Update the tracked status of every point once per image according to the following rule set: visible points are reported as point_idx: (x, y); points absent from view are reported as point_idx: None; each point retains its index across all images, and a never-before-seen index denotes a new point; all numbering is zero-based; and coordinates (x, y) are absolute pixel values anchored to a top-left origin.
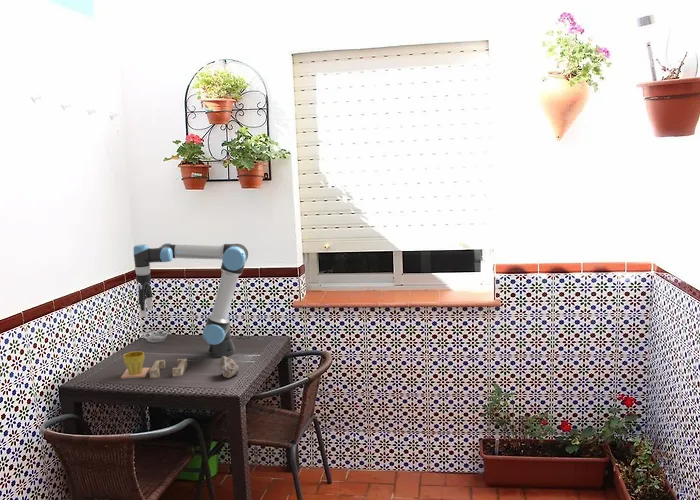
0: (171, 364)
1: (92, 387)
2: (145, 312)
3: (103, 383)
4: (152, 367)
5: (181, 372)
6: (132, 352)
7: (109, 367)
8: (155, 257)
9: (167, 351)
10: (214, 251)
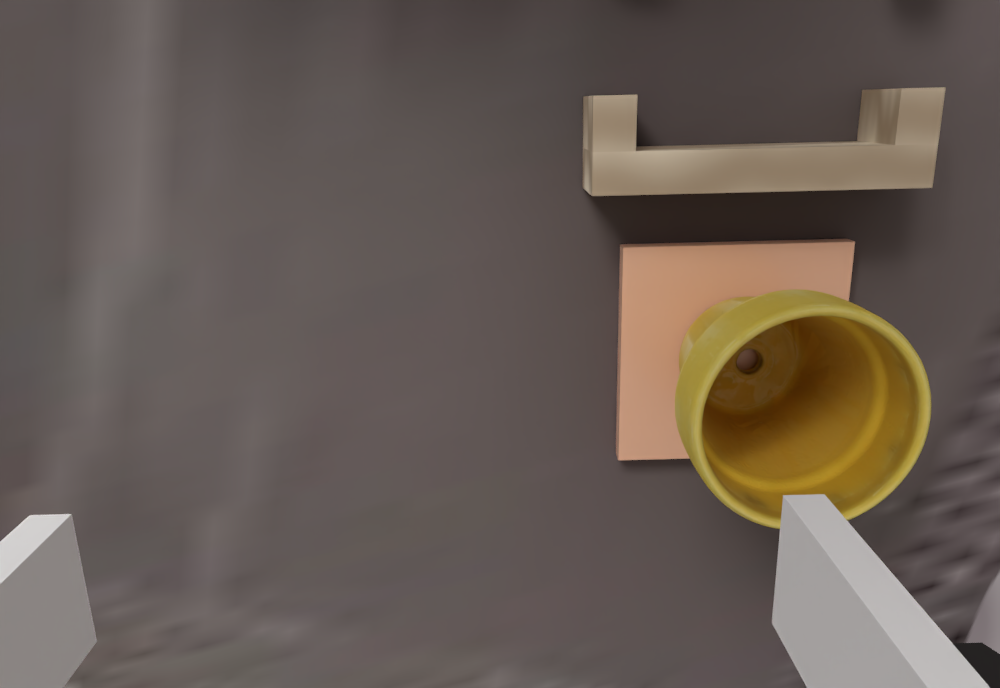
0: (504, 46)
1: (973, 609)
2: (872, 567)
3: (903, 555)
4: (835, 177)
5: None
6: (708, 462)
7: (488, 625)
8: None
9: (37, 200)
10: None
